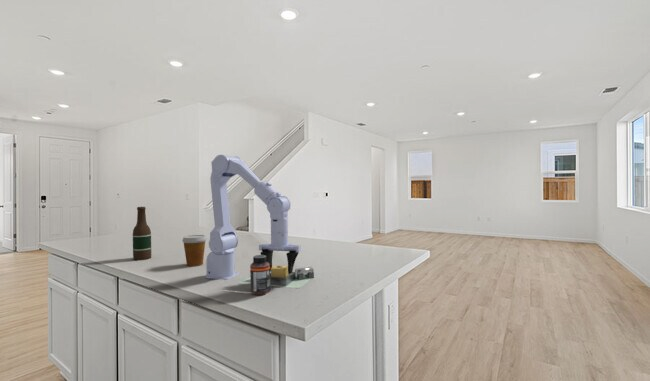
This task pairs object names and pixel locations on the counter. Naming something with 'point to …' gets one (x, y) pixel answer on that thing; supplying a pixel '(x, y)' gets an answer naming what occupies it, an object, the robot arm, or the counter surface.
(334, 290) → the counter surface
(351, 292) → the counter surface
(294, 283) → the mat
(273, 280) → the frame
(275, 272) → the yellow block
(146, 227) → the beer bottle
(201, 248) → the disposable coffee cup
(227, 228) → the robot arm
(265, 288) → the supplement bottle
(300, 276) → the shaft
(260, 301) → the counter surface
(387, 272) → the counter surface
